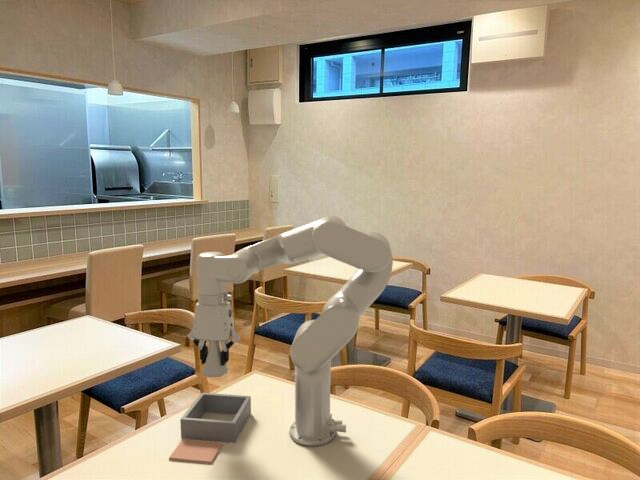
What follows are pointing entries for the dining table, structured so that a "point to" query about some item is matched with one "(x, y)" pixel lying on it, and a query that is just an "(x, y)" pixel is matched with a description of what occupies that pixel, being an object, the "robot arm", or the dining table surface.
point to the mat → (196, 451)
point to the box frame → (216, 428)
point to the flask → (214, 361)
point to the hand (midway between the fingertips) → (214, 362)
